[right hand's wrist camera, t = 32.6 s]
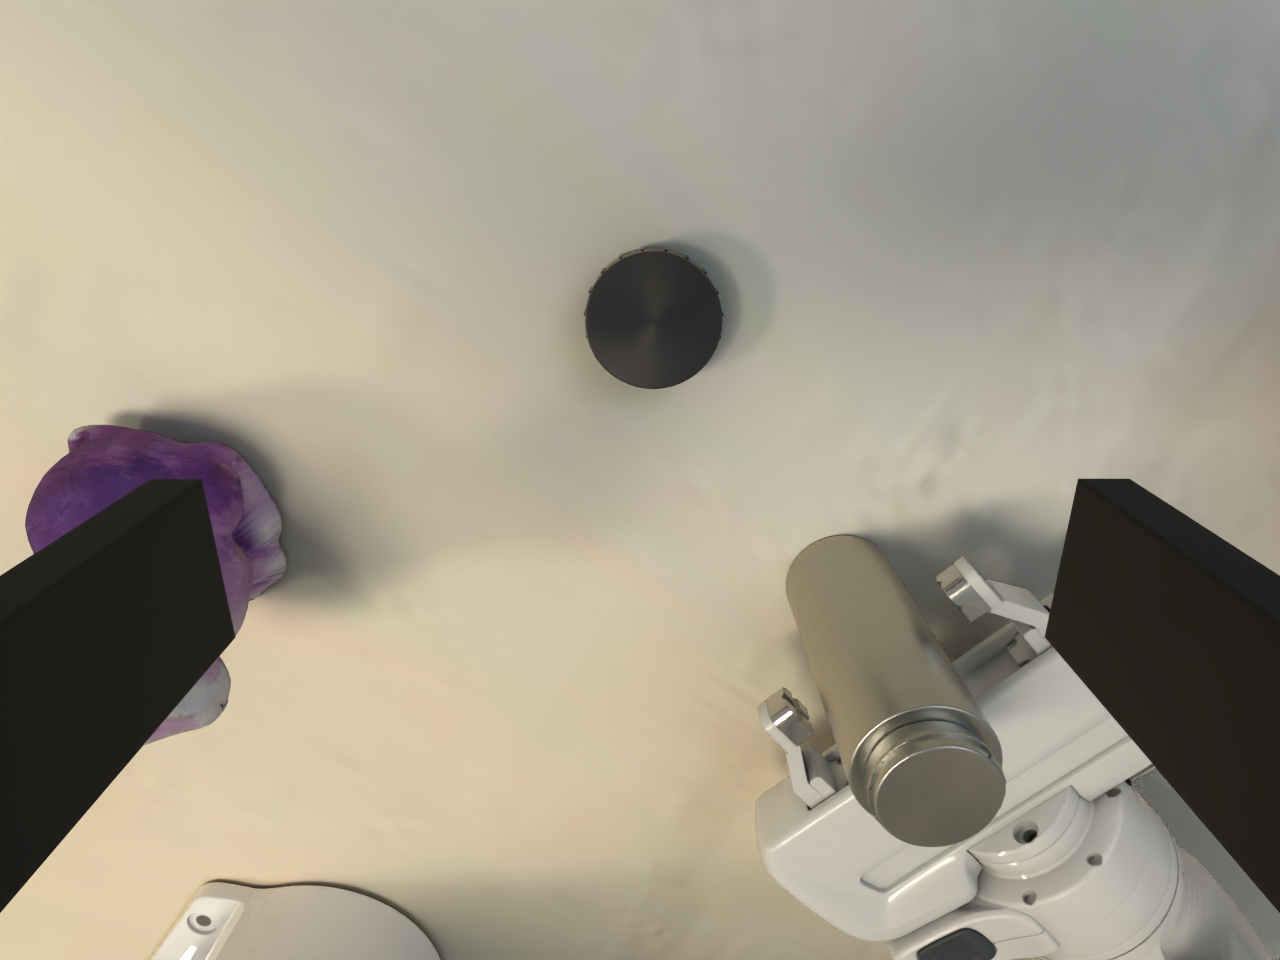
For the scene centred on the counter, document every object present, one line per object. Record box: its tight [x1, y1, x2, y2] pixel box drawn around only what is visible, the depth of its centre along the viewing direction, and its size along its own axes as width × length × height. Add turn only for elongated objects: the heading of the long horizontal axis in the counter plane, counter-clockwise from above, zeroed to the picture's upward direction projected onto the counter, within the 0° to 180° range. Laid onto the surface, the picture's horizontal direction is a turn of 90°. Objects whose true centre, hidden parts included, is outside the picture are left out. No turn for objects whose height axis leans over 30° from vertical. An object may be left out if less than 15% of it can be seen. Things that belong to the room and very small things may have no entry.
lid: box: [584, 247, 723, 389], centre depth 34 cm, size 6×6×2 cm
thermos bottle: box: [786, 535, 1006, 847], centre depth 33 cm, size 5×5×15 cm
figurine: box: [25, 425, 286, 745], centre depth 31 cm, size 9×10×15 cm
